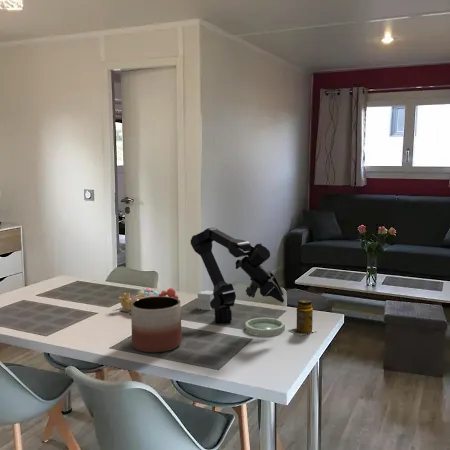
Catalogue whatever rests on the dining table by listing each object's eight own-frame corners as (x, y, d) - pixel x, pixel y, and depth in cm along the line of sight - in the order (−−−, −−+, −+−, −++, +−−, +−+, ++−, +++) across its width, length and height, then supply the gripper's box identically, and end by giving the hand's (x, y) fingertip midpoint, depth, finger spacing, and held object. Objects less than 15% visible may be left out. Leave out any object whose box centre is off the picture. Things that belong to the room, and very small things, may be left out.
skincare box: (210, 310, 222) (210, 294, 221) (197, 309, 224) (197, 293, 223) (215, 306, 227) (215, 291, 227) (202, 305, 230) (202, 290, 229)
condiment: (317, 331, 192) (317, 301, 191) (300, 336, 188) (300, 305, 186) (304, 326, 199) (304, 297, 197) (287, 331, 194) (287, 300, 192)
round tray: (247, 336, 188) (247, 330, 188) (243, 323, 203) (243, 318, 203) (287, 334, 189) (287, 329, 189) (280, 322, 204) (280, 317, 204)
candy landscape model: (152, 320, 210) (151, 299, 209) (110, 312, 222) (109, 292, 221) (186, 305, 232) (185, 285, 230) (145, 299, 243) (145, 280, 242)
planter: (174, 355, 171) (173, 310, 169) (124, 352, 174) (122, 308, 172) (187, 337, 188) (186, 296, 186) (141, 335, 191) (140, 295, 189)
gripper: (240, 278, 202) (267, 305, 202) (237, 290, 183) (268, 320, 184) (259, 259, 200) (287, 286, 201) (259, 269, 182) (289, 299, 182)
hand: (282, 298), depth 192 cm, fingers open, 9 cm apart
